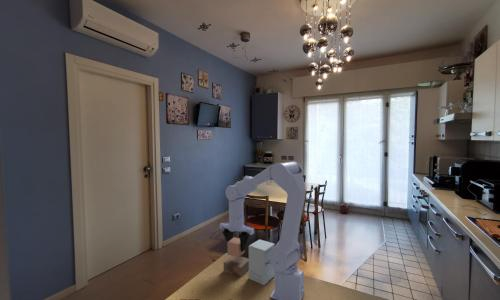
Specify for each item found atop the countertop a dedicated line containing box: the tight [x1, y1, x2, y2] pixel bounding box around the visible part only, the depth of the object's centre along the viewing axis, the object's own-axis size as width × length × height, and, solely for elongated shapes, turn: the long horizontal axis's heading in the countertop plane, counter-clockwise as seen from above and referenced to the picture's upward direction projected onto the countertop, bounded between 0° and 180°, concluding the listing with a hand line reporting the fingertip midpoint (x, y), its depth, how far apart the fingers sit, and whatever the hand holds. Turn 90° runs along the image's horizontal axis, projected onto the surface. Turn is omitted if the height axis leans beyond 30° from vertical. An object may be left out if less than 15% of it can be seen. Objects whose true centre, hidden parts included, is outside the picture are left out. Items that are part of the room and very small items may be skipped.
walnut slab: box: [223, 255, 249, 278], centre depth 93 cm, size 8×7×4 cm
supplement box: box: [248, 239, 276, 286], centre depth 88 cm, size 7×7×13 cm
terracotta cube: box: [226, 236, 246, 257], centre depth 93 cm, size 5×5×5 cm
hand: (236, 249), depth 93 cm, fingers closed on terracotta cube, 5 cm apart
